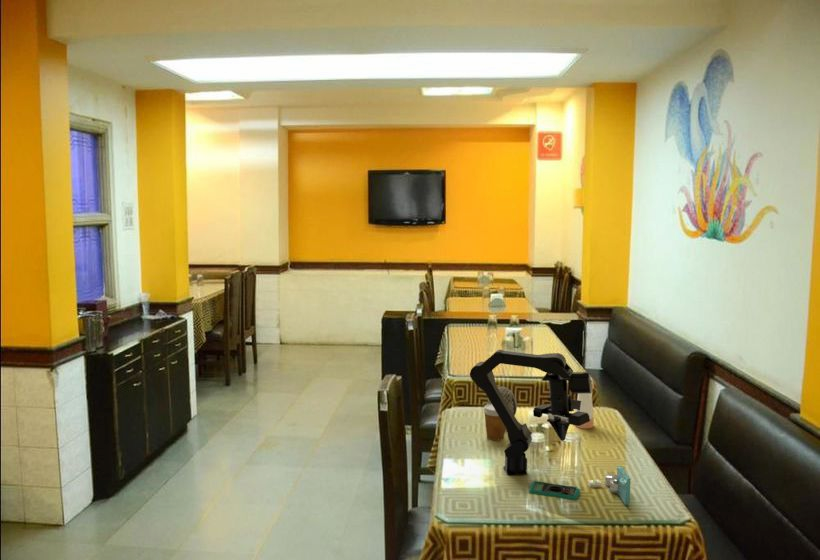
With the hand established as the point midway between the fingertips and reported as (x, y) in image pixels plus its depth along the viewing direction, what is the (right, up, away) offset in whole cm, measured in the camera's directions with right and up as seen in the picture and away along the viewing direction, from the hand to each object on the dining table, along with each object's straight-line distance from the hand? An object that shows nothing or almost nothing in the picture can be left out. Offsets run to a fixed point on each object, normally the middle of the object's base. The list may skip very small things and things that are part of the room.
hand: (562, 440), depth 213 cm
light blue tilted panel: (+14, -14, -15) cm, 24 cm away
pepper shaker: (+20, -7, +51) cm, 55 cm away
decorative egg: (-12, -6, +54) cm, 55 cm away
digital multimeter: (-5, -15, -11) cm, 19 cm away
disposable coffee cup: (-17, -8, +38) cm, 42 cm away
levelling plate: (+12, -14, -11) cm, 22 cm away
